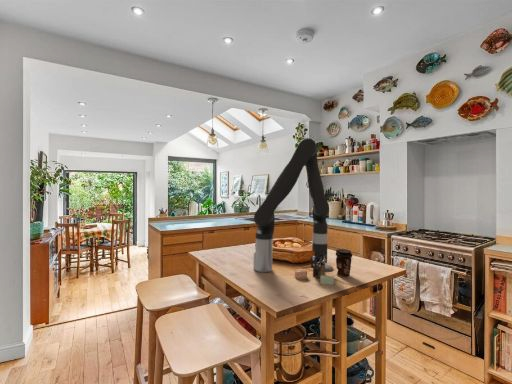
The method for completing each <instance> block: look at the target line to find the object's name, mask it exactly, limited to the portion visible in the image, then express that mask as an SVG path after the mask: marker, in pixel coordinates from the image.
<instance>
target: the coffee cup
mask: <svg viewBox="0 0 512 384" xmlns="http://www.w3.org/2000/svg"><path fill="white" fill-rule="evenodd" d="M335 251H336V252H335V256H336V258H335V264H336V269H337V272H336V276H337V277H340V278H343V279H344V278H346V279H347V278H349V277H350V276H351V275H350V274H351V269H352V268H351V267H352V258H353V253H352V252H351V250H349V249H346V248H339V249H336V250H335Z"/></svg>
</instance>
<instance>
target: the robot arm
mask: <svg viewBox="0 0 512 384" xmlns="http://www.w3.org/2000/svg"><path fill="white" fill-rule="evenodd" d="M304 167H305V170H306V179H307V184H308V185H307V186H308V190H309V194H310V197H311V199H312V201H313V207H312V220H313V223H312V224H313V225H312V226H313V227H312V239H311V241H312V243H311V244H312V245H311V250H312V252H314V255H311V257H310V268H311V269H312V276H313V275H314V276H316V277H315V278H318V277H317V276H318V267H319V265H320V264H321V265H327V264H328V263H327V262H328V242H329V241H328V239H329V238H328V222H327V216H328V215H329V214H330V205H329V202H328V199H327V197H326V194H325V189H324V184H323V180H322V176H321V173H320V169H319V168H320V167H319V164H318V145H317V143H316V141H315V140H314V139H312V138H309V137H307V138H303V139H301V140H300V141H299V142H298V144H297V146H296V149H295V151H294V153H293V154H292V156H291V159H290V160H289V161H288V163H287V164H286V165H285V167H284V168H283V170H282V171H281V172H280V174H279V175H278V176H277V177H278V178H276V180H275V182H274V184H273V185H272V187H271V189H270V190H269V192H268V194H267V196H266V197H265V199H264V201H263V202H262V203H261V205H260V206H259V207H258V209H256V211H255V213H254V216H253V220H254V223H255V224H256V226H257V230H256V232H255V250H254V251H253V270H255V271H256V272H259V273H270V272H272V271H273V250H274V249H273V242H274V241H273V238H274V237H273V236H274V232H275V221H276V220H275V213H274V212H275V211H276V209H277V208H278V206H279V205H280V204H282V202H283V201H284V200H285V199H286V198H287V197H288V196H289V194H290V193H291V192H292V190H293V189H294V187H295V185H296V184H297V182H298V179H299V177H300V175H301V173H302V170H303V168H304ZM313 269H314V271H313ZM314 276H313V277H314Z"/></svg>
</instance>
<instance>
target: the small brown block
mask: <svg viewBox="0 0 512 384" xmlns="http://www.w3.org/2000/svg"><path fill="white" fill-rule="evenodd" d="M307 278H308V271H307V269H304V268H297V269H295V270H294V279H296V280H300V281H301V280H303V281H304V280H307Z"/></svg>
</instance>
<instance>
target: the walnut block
mask: <svg viewBox="0 0 512 384" xmlns="http://www.w3.org/2000/svg"><path fill="white" fill-rule="evenodd" d="M325 265H326V264H325ZM325 265H321V264H320V265H319V267H318V276H317V277H316V276H314V275H313V274H312V277H315V278H318V279H321V275H324V276H326V271H325ZM313 271H314V269H313V268H312V272H313Z"/></svg>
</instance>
